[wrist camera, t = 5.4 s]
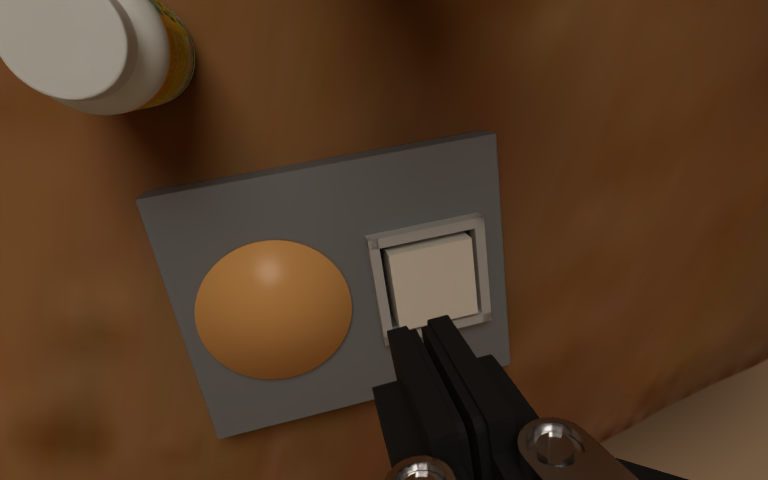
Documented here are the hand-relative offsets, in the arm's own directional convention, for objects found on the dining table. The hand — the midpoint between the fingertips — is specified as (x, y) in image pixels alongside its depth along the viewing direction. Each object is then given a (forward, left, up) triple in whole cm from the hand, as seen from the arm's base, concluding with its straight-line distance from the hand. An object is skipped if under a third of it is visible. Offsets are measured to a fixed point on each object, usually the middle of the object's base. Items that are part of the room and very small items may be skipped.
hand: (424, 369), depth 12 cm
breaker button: (-4, +5, -17) cm, 18 cm away
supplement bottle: (+9, -10, -18) cm, 22 cm away
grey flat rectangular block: (+1, +5, -18) cm, 18 cm away
